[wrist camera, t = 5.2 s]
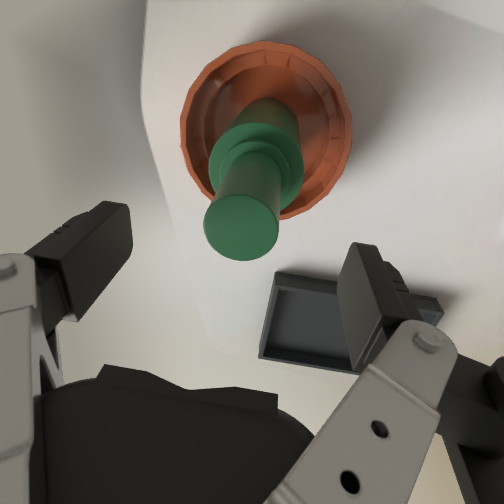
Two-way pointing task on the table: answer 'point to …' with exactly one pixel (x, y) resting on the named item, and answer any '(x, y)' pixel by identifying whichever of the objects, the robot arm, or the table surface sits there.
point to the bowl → (277, 87)
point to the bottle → (253, 179)
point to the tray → (315, 323)
